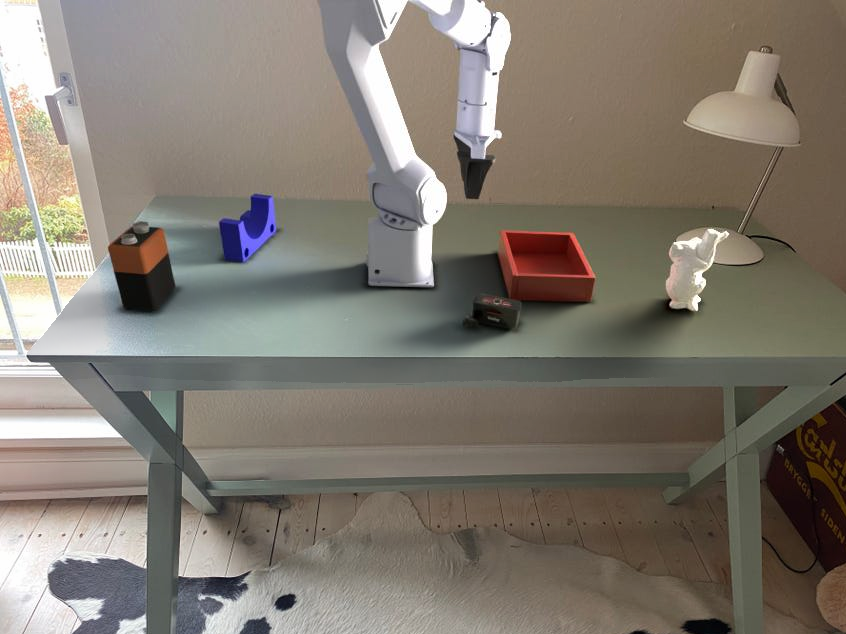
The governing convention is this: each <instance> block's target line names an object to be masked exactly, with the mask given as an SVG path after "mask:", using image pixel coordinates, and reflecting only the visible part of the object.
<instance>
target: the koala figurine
mask: <svg viewBox="0 0 846 634" xmlns="http://www.w3.org/2000/svg"><path fill="white" fill-rule="evenodd" d="M729 235H730V234H729V233H728V232H727V231H722V232H721V233H720V232H718V231H716V230H714V229H712V228H711V229H710V228H709V229H706V230H705V231H704V233H703V236H702V238H701V239H700V238H698V237H694V238H691V239H690V240H688V241H687V240H680V241H677V242H672V243H671V247H670V248H669V251H668V256H669V257H670V260H671V261H672V262H673V263H672V264H671V266H670V271H669V277H668V278H667V279H666V280H665V290H666V293H667V295H668V297H669V298H670V299H671V301H670V302H669V307H670V308H671V309H674V310H680V309H688V310H689V311H692V312H697V311H698V309H699V307H698V303H700V302H701V298H700V297H699V296H698V295H699V294H700V293H702V291H703V290H704V289H705V286H706V279H705V278H703V277H702V274H703V273H704V272H706V271H707V270H709V268H710V267H711V266H712V264H713V261H714V258H715V253H716V246H717V244H719V243H720V242H721V241H723V240H725V239H726V238H727V237H728V236H729Z"/></svg>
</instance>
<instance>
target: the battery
mask: <svg viewBox="0 0 846 634" xmlns="http://www.w3.org/2000/svg"><path fill="white" fill-rule="evenodd" d="M165 233H166V232H165V229H164V228H162V227H157V226H150V225H149V221H144V220H143V221H142V220H139V221H137V222H133V223H131V226H130V227H129V228H127V229H126V230H125V231H124V232H122V233H121V234H120V235H119V236H118V237H117V238H115V239H114V241H112V242H111V243H110V244H109V245H108V246H107V251H108V255H109V259H110V262H111V266H112V270H113V273H114V277H115V280H116V285H117V288H118V292H119V296H120V300H121V304H122V307H123V309H124V310H130V311H141V312H156V311H158V309H159V308H160V307H161V306H162V304H163V303H164V302H165V301H166V300H167V299H168V298H169V297H170V295H171V294H172V293H173V292H174V291H175V290H176V283H175V277H174V273H173V267H172V263H171V257H170V253H169V248H168V244H167V238H166V234H165Z"/></svg>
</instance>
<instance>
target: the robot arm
mask: <svg viewBox="0 0 846 634" xmlns="http://www.w3.org/2000/svg"><path fill="white" fill-rule="evenodd" d="M316 2H317V5H318V7H319V9H320V17H321V24H322V25H321V26H322V34H323V41H324V46H325V47H324V48H325V50H326V53H327V55H328V57H329V60H330V62H331V64H332V68H333V69H334V72H335V74H336V77H337V80H338V82H339V84H340V86H341V88H342V91H343V93H344V95H345V97H346V100H347V102H348V105H349V107H350V110H351V112H352V114H353V117H354V118H355V121H356V125H357V126H358V129H359V131H360V134H361V135H362V138H363V140H364V142H365V146H366V147H367V150H368V153H369V154H370V157H371V159H372V161H373V162H372V163H371V164H370V166H369V168H368V169H367V171H366V174H365V178H366V180H367V183H368V189H369V199H370V202H371V204H372V205H373V207H374V208H376V209H377V216H375V217H368V221H367V222H368V223H367V254H366V267H367V269H368V271H367V272H368V280H367V281H368V283H367V284H368V285H369V286H370V287H407V288H433V287H434V286H435V283H434V282H435V279H434V268H433V267H434V265H433V261H432V245H433V225H435V224H437V223H438V221H439V220H440V219H441V218H442V216H443V214H444V212H445V210H446V207H447V191H446V188H445V186H444V184H443V183H442V182H441V181H439V179H437V176H436V174H435V171H434V170H433V169H432V168H431V166H429V165H428V164H427V163H425V162H424V160H422V159H421V158H419V156H417V154H416V152H415V149H414V147H413V143H412V141H411V138H410V135H409V133H408V128H407V126H406V124H405V120H404V118H403V114H402V112H401V108H400V106H399V104H398V100H397V97H396V95H395V92H394V89H393V87H392V84H391V81H390V78H389V76H388V72H387V69H386V66H385V64H384V60H383V58H382V55H381V53H380V50H379V49H380V48H379V45H380V44H382V43H384V42H385V41H387V40H388V39H389V38H390V36H391V34H392V32H393V30H394V28H395V26H396V24H397V22H398V20H399V18H400V16H401V14H402V12H403V10H404V9H405V6H406V4H407V2H410V3H412V4H413V5H415V6H417V7H418V8H421V9H422V10H424V11H426V12H427V15H428V20H429V22H430V24H431V26H432V27H433V28H434V29H435V30H436V31H438V32H440V33H441V34H443V35H444V36H446V37H447V38H449V39H451V40H452V43H453V45H454V48H455V49H456V50H457V51H460V55H459V71H458V72H459V73H458V87H457V88H458V90H457V104H456V105H457V106H456V124H455V128H454V132H453V133H454V134H453V140H454V142H455V145H456V148H457V150H458V151H456V156H457V159H458V162H459V166H460V168H459V169H460V175H461V180H462V181H461V182H463V189H464V196H465V199H467V200H480V198H481V195H482V192H483V188H484V185H485V182H486V179H487V176H488V173H489V172H490V170H491V168H492V167H493V165H494V164H495V162H496V156H495V155H494V154H486V149H487V147H488V146H489V145H490V143H491V142H493V140H494V139H501V138H502V132H501V130H499V129H495V121H496V109H497V100H498V99H497V97H498V87H499V76H500V75H499V74H500V71H501V70H502V69H503V66H504V65H505V63H504V62H505V55H506V53H507V51H508V48H509V46H510V42H511V38H512V37H511V36H512V34H511V30H510V29H511V28H510V23H509V21H508V19H507V18H506V17H505V16H504V14H503V13H501V12H497V11H493V10H489V9H488V8H487V7H486V6H485V5H486V3H485V1H483V0H316Z"/></svg>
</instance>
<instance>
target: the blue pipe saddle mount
mask: <svg viewBox="0 0 846 634" xmlns="http://www.w3.org/2000/svg"><path fill="white" fill-rule="evenodd" d="M218 225H219V233H220V239H221V246H222V251H223V259H224V260H225V261H233V262H239V263H245V261H247V260H248V259H249V258H250V257H251V256H252V255H253V254H254V253H255V252H256V251H257V250H258V249H259V248H260V247H261V246H263V244H265V243H266V242H267V241H268V240H269V239H270V238H271V236H272V235H274V234H275V233H276V232H277V226H276V225H277V224H276V216H275V206H274V196H273V195H269V194H261V193H253V194H252V195H251V196H250V210H249V209H247V210H246V211H245V212H243V214H241V215H240V217H239V219H232V218H226V217H223V218H222V219H220V220H219V221H218Z"/></svg>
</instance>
